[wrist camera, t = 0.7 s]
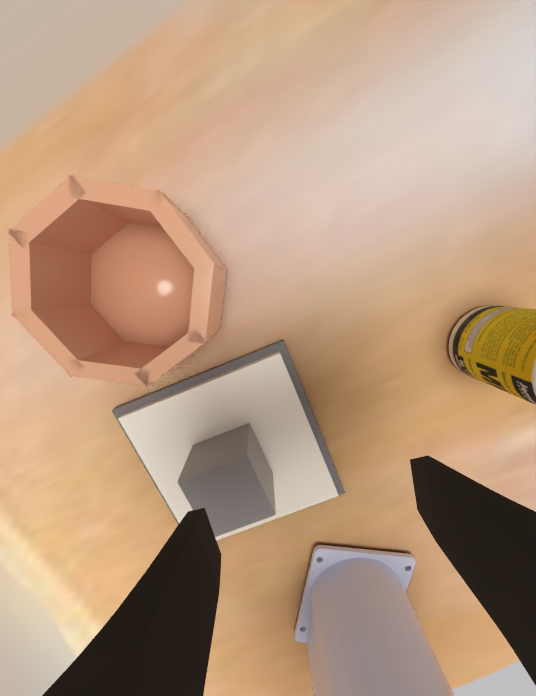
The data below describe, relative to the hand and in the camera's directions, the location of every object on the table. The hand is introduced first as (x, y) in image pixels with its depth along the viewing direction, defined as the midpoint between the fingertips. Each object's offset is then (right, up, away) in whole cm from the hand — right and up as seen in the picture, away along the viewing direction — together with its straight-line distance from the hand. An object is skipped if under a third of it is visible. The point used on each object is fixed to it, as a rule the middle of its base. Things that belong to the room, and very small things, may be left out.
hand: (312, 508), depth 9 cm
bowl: (-8, +9, +7) cm, 14 cm away
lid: (-4, -2, +10) cm, 10 cm away
